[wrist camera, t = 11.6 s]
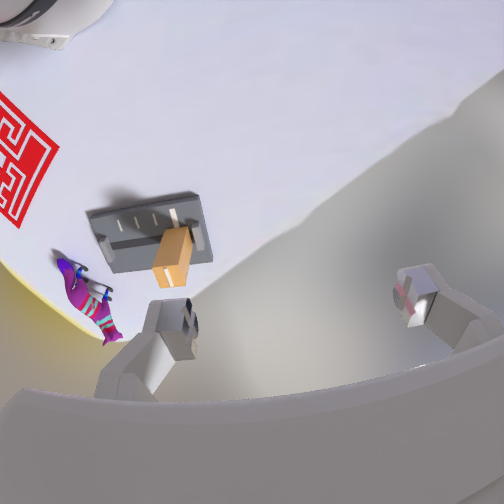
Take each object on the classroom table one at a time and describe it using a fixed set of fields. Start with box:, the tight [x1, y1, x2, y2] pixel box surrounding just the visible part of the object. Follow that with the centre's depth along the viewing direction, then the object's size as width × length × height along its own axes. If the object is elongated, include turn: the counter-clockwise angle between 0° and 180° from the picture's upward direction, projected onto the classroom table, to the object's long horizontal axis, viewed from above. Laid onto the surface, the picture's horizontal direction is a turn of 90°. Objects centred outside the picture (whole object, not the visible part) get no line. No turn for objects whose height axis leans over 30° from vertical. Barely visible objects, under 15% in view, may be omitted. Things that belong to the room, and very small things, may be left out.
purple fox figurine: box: [57, 258, 123, 346], centre depth 47 cm, size 4×18×10 cm, turn 37°
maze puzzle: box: [0, 92, 59, 229], centre depth 34 cm, size 20×20×1 cm
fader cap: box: [152, 226, 193, 288], centre depth 40 cm, size 4×4×9 cm
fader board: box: [90, 196, 213, 274], centre depth 44 cm, size 18×11×3 cm, turn 97°
